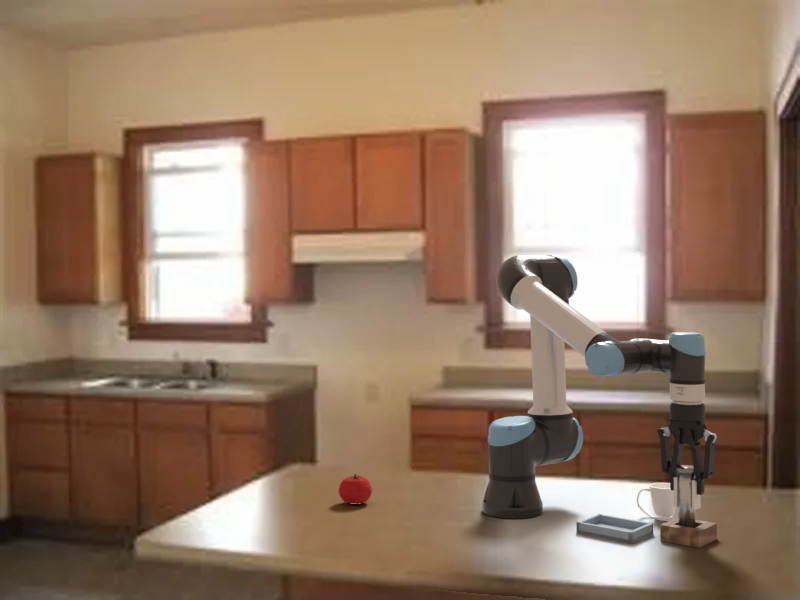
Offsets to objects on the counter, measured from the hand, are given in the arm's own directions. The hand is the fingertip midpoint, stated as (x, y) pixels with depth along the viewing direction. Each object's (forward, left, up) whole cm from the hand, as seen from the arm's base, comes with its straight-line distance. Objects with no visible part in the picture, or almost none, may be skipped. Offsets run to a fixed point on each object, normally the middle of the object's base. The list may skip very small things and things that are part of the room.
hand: (687, 506), depth 205 cm
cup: (-14, +13, -7) cm, 20 cm away
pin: (0, 0, -5) cm, 5 cm away
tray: (-15, -6, -7) cm, 17 cm away
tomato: (-82, -23, -7) cm, 85 cm away
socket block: (0, 0, -7) cm, 7 cm away
